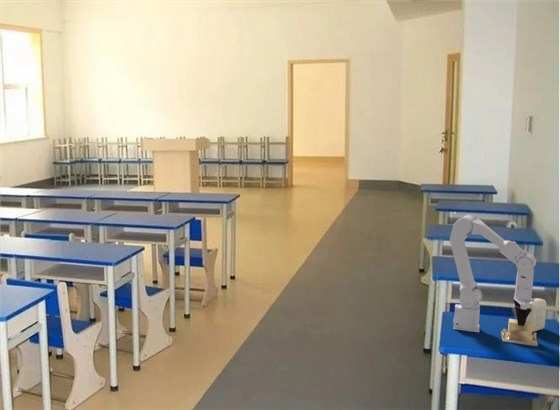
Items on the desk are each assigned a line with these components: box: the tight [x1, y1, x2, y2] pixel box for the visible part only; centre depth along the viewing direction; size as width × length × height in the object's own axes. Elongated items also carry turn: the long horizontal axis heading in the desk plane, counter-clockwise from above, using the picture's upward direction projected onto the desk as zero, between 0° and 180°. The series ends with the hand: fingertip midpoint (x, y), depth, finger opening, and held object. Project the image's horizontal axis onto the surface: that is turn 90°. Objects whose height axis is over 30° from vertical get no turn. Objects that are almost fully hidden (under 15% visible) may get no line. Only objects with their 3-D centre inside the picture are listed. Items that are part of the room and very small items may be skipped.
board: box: [507, 318, 533, 341], centre depth 218 cm, size 8×4×6 cm, turn 71°
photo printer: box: [526, 297, 548, 333], centre depth 228 cm, size 10×4×12 cm, turn 123°
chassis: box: [500, 328, 539, 347], centre depth 218 cm, size 12×9×3 cm
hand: (520, 321), depth 218 cm, fingers open, 7 cm apart
